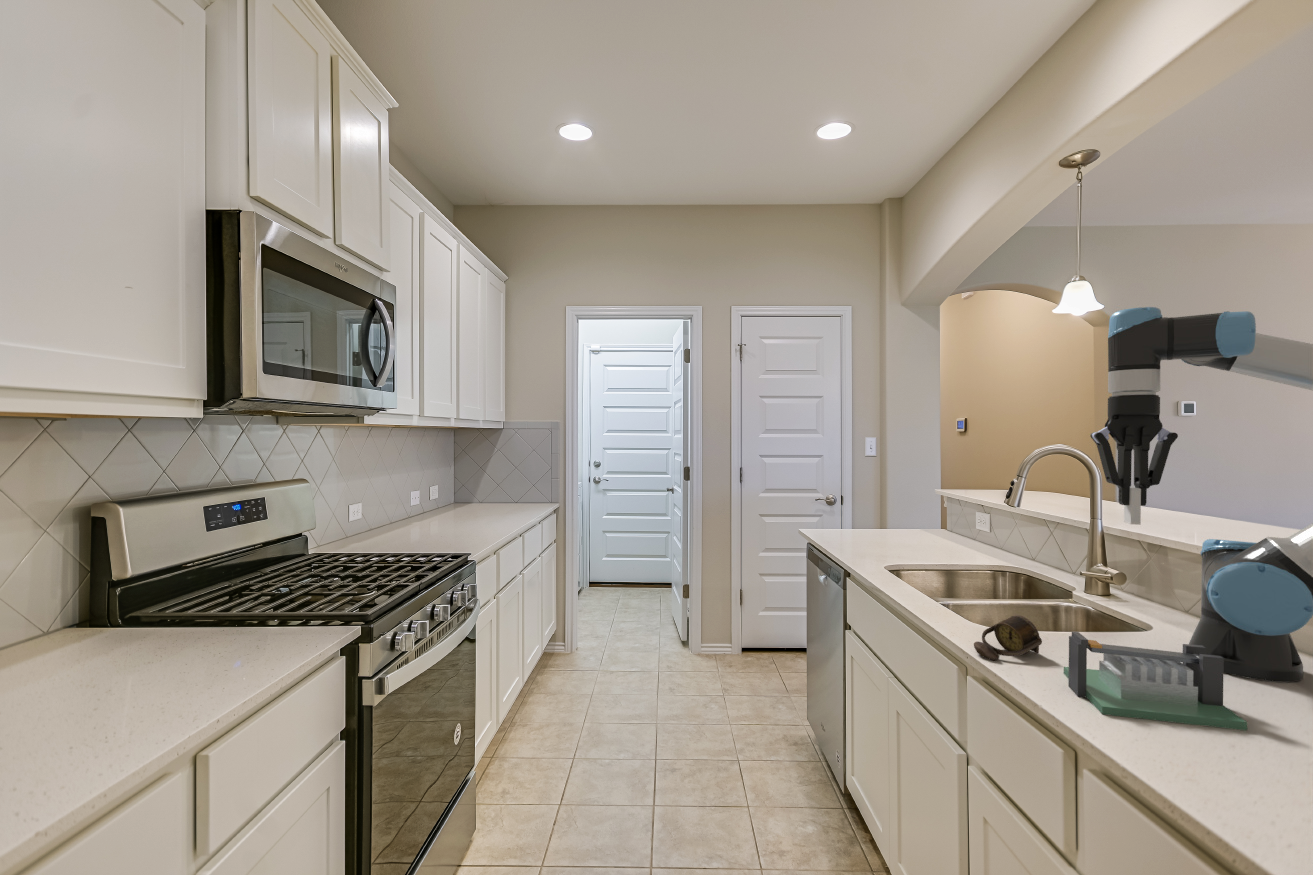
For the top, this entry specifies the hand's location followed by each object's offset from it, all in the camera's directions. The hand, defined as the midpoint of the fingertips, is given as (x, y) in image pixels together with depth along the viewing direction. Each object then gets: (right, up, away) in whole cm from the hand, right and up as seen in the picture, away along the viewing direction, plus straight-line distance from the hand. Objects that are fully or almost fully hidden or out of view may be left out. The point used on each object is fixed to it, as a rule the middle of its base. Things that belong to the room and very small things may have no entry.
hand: (1132, 523), depth 110 cm
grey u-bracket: (-1, -25, -15) cm, 30 cm away
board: (-8, -27, -13) cm, 31 cm away
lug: (-17, -27, -10) cm, 33 cm away
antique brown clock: (-19, -27, +7) cm, 34 cm away
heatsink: (-8, -25, -13) cm, 30 cm away
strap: (-8, -20, -13) cm, 25 cm away
